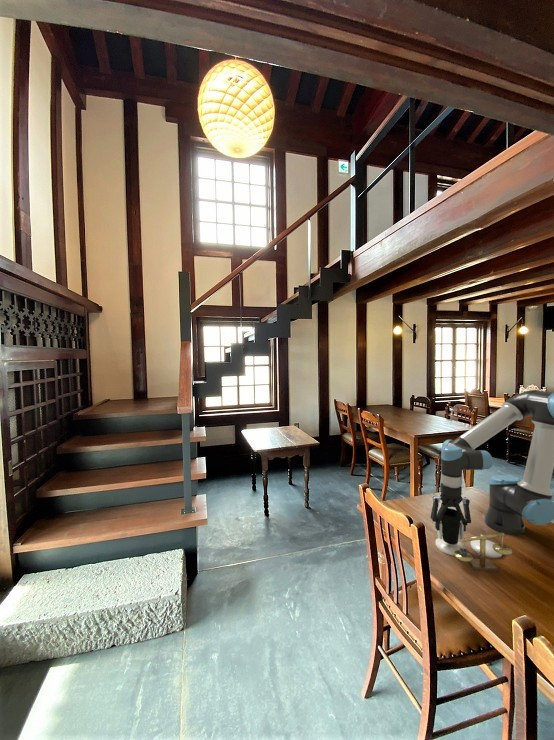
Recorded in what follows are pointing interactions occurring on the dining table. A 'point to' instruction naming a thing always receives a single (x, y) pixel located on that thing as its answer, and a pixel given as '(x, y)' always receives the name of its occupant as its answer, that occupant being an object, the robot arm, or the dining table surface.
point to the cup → (451, 526)
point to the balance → (482, 553)
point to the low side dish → (448, 546)
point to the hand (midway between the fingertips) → (450, 537)
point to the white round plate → (489, 549)
